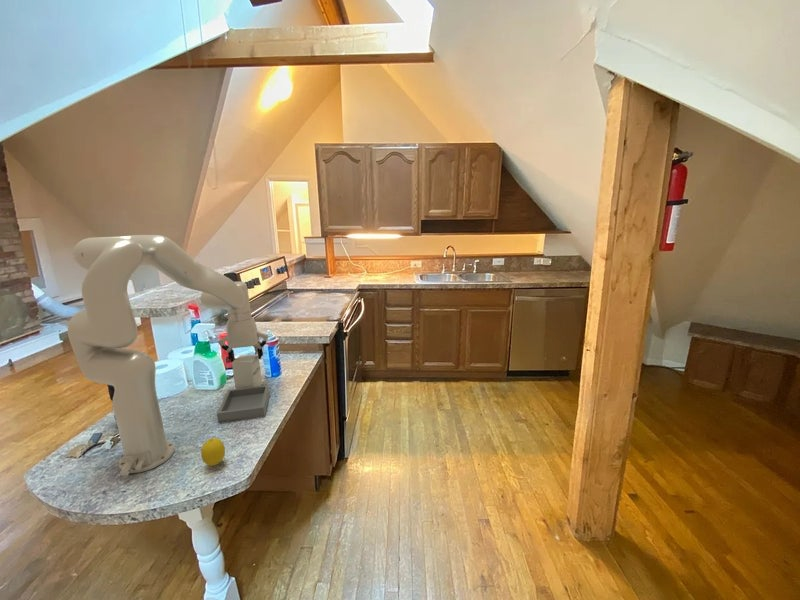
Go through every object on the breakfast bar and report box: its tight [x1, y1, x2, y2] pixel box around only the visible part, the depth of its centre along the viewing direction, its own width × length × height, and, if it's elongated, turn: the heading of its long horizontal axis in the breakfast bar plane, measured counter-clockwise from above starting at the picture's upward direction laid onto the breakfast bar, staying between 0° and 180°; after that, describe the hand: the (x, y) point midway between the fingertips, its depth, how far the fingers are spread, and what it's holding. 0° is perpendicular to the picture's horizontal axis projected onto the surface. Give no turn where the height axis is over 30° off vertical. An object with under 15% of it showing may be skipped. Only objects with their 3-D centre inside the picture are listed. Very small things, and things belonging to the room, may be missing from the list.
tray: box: [216, 384, 271, 424], centre depth 123 cm, size 16×14×4 cm
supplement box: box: [231, 354, 263, 389], centre depth 135 cm, size 7×7×13 cm
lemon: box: [200, 437, 226, 467], centre depth 95 cm, size 6×6×8 cm
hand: (246, 359), depth 134 cm, fingers open, 9 cm apart
